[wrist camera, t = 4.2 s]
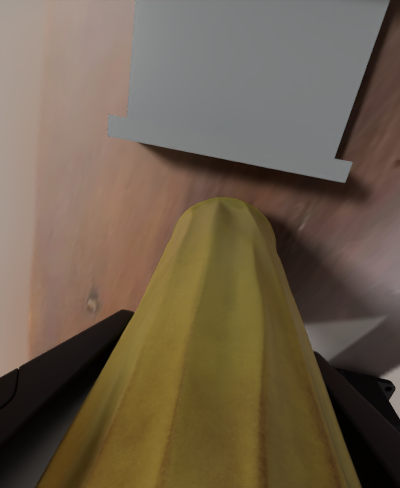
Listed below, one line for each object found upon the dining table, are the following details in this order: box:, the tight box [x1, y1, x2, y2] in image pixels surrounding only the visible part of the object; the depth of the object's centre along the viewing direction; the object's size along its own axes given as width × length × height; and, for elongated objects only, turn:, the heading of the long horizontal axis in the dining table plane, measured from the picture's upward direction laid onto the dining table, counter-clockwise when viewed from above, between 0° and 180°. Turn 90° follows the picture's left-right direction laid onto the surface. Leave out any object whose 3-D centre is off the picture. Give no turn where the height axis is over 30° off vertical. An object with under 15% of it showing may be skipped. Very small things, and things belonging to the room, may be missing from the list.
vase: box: [35, 197, 362, 488], centre depth 9 cm, size 6×6×14 cm
